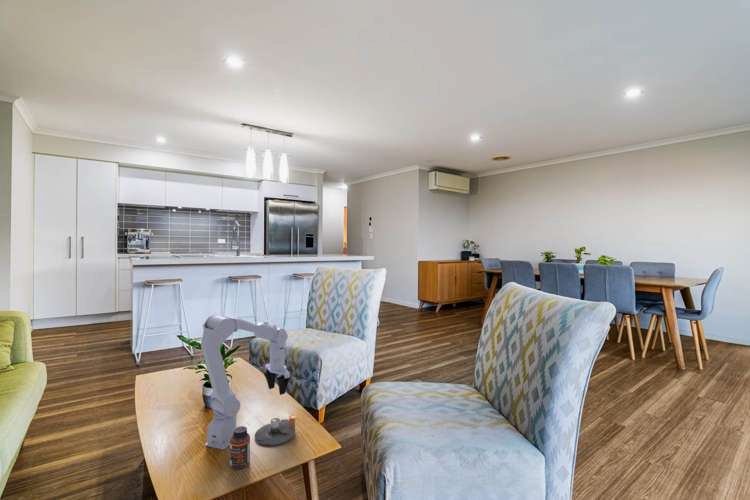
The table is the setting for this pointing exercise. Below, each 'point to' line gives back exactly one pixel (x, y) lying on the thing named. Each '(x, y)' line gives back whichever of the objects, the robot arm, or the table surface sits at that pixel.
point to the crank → (282, 424)
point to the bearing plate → (273, 436)
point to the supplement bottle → (239, 448)
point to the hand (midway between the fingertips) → (276, 391)
